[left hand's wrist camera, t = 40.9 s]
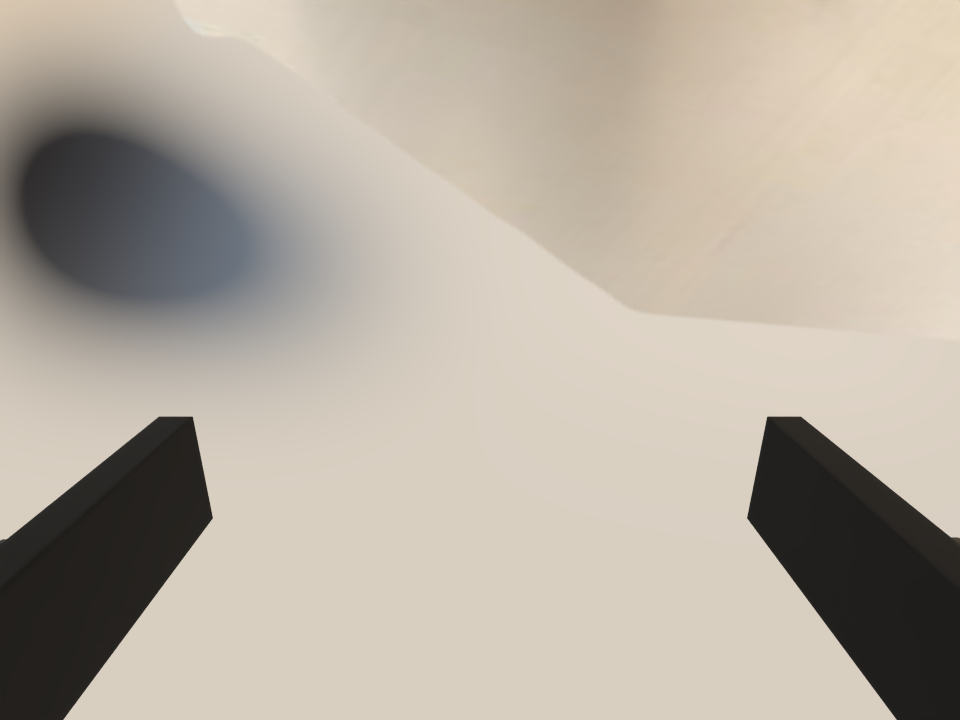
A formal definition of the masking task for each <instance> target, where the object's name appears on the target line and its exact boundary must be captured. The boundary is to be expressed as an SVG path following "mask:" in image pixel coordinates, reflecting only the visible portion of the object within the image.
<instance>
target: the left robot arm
mask: <svg viewBox="0 0 960 720" xmlns="http://www.w3.org/2000/svg"><path fill="white" fill-rule="evenodd" d="M212 519H213V517H212V512H211V507H210V502H209V496H208V492H207V487H206V481H205V476H204V471H203V466H202V461H201V456H200V451H199V446H198V441H197V436H196V431H195V426H194V421H193V417H158V418H157V419H156V420H154V421H153V422H152V423H151V424H150V425H148V426H147V427H146V428H145V429H143V430H142V431H141V432H140V433H138V434H137V435H136V436H135V437H133V438H132V439H131V440H130V441H128V442H127V443H126V444H125V445H124V446H122V447H121V448H120V449H118V450H117V451H116V452H115V453H114V454H112V455H111V456H110V457H109V458H107V459H106V460H105V461H104V462H102V463H101V464H100V465H99V466H97V467H96V468H95V469H94V470H92V471H91V472H90V473H89V474H87V475H86V476H85V477H84V478H82V479H81V480H80V481H79V482H77V483H76V484H75V485H74V486H73V487H71V488H70V489H69V490H68V491H66V492H65V493H64V494H63V495H61V496H60V497H59V498H58V499H56V500H55V501H54V502H53V503H51V504H50V505H49V506H48V507H46V508H45V509H44V510H43V511H42V512H40V513H39V514H38V515H37V516H35V517H34V518H33V519H32V520H30V521H29V522H28V523H27V524H25V525H24V526H23V527H22V528H20V529H19V530H18V531H17V532H15V533H14V534H13V535H12V536H10V537H9V538H8V539H7V540H1V541H0V720H63V719H64V718H65V717H66V715H67V714H68V713H69V711H70V710H71V709H72V707H73V706H74V704H75V703H76V702H77V700H78V699H79V698H80V696H81V695H82V694H83V692H84V691H85V690H86V688H87V687H88V686H89V684H90V683H91V682H92V680H93V679H94V677H95V676H96V675H97V673H98V672H99V671H100V669H101V668H102V667H103V665H104V664H105V663H106V661H107V660H108V659H109V657H110V656H111V655H112V653H113V652H114V651H115V649H116V648H117V647H118V645H119V644H120V642H121V641H122V640H123V638H124V637H125V636H126V634H127V633H128V632H129V630H130V629H131V628H132V626H133V625H134V624H135V622H136V621H137V620H138V618H139V617H140V616H141V614H142V613H143V611H144V610H145V609H146V607H147V606H148V605H149V603H150V602H151V601H152V599H153V598H154V597H155V595H156V594H157V593H158V591H159V590H160V589H161V587H162V586H163V584H164V583H165V582H166V581H167V579H168V578H169V576H170V575H171V574H172V572H173V571H174V570H175V568H176V567H177V566H178V564H179V563H180V562H181V560H182V559H183V558H184V556H185V555H186V554H187V552H188V551H189V550H190V548H191V547H192V545H193V544H194V543H195V541H196V540H197V539H198V537H199V536H200V535H201V533H202V532H203V531H204V529H205V528H206V527H207V525H208V524H209V523H210V521H211V520H212ZM747 519H748V520H749V521H750V523H751V524H752V525H753V527H754V528H755V529H756V531H757V532H758V533H759V535H760V536H761V537H762V539H763V540H764V541H765V543H766V544H767V545H768V547H769V548H770V550H771V551H772V552H773V554H774V555H775V556H776V558H777V559H778V560H779V562H780V563H781V564H782V566H783V567H784V568H785V570H786V571H787V572H788V574H789V575H790V576H791V578H792V579H793V581H794V582H795V583H796V585H797V586H798V587H799V588H800V590H801V591H802V593H803V594H804V595H805V597H806V598H807V599H808V601H809V602H810V603H811V605H812V606H813V607H814V609H815V610H816V612H817V613H818V614H819V616H820V617H821V618H822V620H823V621H824V622H825V624H826V625H827V626H828V628H829V629H830V630H831V632H832V633H833V634H834V636H835V637H836V638H837V640H838V641H839V642H840V644H841V645H842V647H843V648H844V649H845V650H846V652H847V653H848V655H849V656H850V657H851V659H852V660H853V661H854V663H855V664H856V665H857V667H858V668H859V669H860V671H861V672H862V673H863V675H864V676H865V678H866V679H867V680H868V682H869V683H870V684H871V686H872V687H873V688H874V690H875V691H876V692H877V694H878V695H879V696H880V698H881V699H882V700H883V702H884V703H885V704H886V706H887V707H888V709H889V710H890V711H891V713H892V714H893V715H894V717H895V718H896V719H897V720H960V538H951V537H950V536H948V535H947V534H946V533H945V532H943V531H942V530H941V529H940V528H938V527H937V526H936V525H935V524H933V523H932V522H931V521H930V520H928V519H927V518H926V517H925V516H923V515H922V514H921V513H920V512H918V511H917V510H916V509H915V508H914V507H912V506H911V505H910V504H909V503H907V502H906V501H905V500H904V499H902V498H901V497H900V496H899V495H897V494H896V493H895V492H894V491H892V490H891V489H890V488H889V487H887V486H886V485H885V484H884V483H882V482H881V481H880V480H879V479H878V478H876V477H875V476H874V475H873V474H871V473H870V472H869V471H868V470H866V469H865V468H864V467H863V466H861V465H860V464H859V463H858V462H856V461H855V460H854V459H853V458H851V457H850V456H849V455H848V454H846V453H845V452H844V451H843V450H842V449H840V448H839V447H838V446H837V445H835V444H834V443H833V442H832V441H830V440H829V439H828V438H827V437H825V436H824V435H823V434H822V433H820V432H819V431H818V430H817V429H815V428H814V427H813V426H812V425H811V424H809V423H808V422H807V421H806V420H804V419H803V418H802V417H767V421H766V426H765V431H764V436H763V441H762V446H761V451H760V456H759V461H758V466H757V471H756V476H755V481H754V486H753V491H752V497H751V502H750V507H749V512H748V517H747Z"/></svg>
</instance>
